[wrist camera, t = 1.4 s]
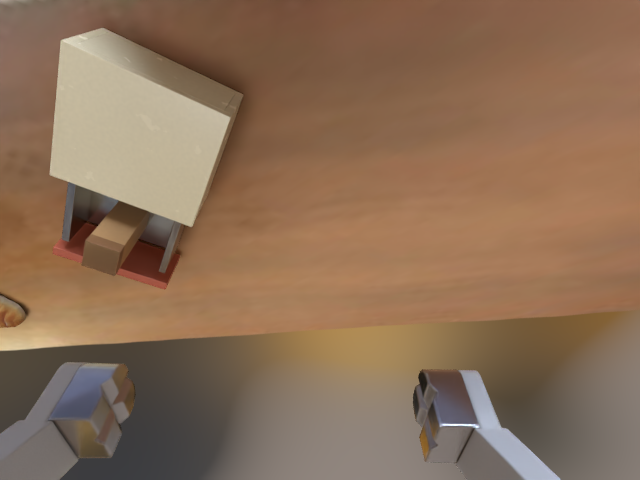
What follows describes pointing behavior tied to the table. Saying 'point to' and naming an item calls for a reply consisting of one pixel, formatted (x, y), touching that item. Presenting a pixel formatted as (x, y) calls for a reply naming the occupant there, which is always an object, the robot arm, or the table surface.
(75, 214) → the rack drawer
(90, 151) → the beige cabinet housing
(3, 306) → the pastry
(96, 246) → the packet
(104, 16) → the table surface
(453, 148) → the table surface
